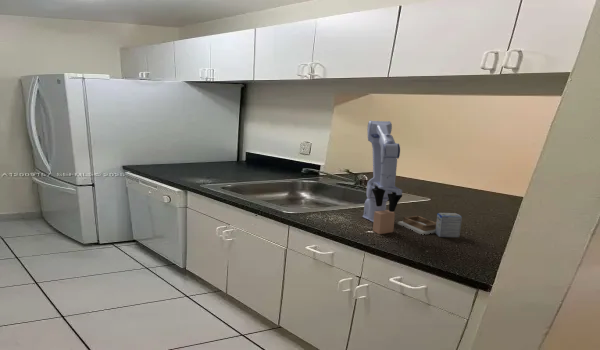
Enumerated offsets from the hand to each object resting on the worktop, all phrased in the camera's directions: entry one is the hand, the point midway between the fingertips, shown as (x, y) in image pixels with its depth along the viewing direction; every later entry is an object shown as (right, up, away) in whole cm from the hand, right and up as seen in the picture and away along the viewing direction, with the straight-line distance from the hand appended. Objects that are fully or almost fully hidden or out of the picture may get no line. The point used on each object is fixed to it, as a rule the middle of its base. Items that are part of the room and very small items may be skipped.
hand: (385, 208), depth 138 cm
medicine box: (+24, -11, 0) cm, 26 cm away
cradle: (+17, -9, +8) cm, 20 cm away
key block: (0, -9, +2) cm, 9 cm away
